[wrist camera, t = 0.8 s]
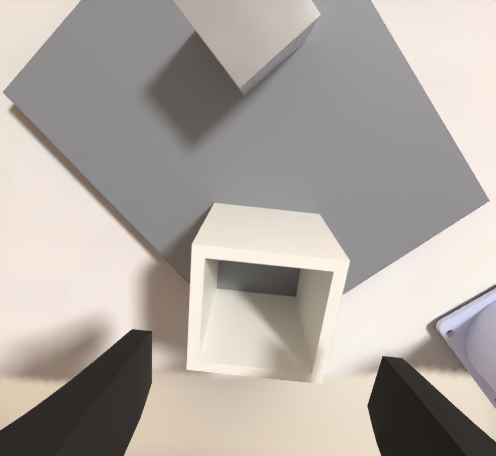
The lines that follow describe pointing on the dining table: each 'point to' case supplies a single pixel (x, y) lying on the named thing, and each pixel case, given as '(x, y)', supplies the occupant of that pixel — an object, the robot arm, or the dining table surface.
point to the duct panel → (249, 134)
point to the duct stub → (250, 33)
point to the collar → (264, 295)
